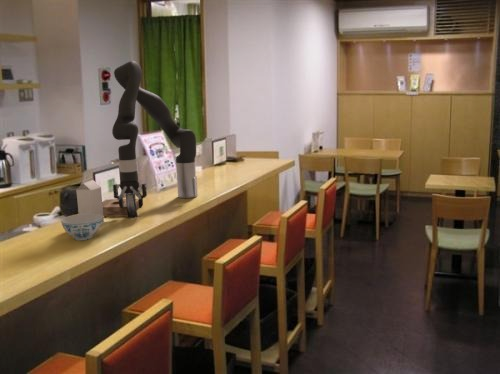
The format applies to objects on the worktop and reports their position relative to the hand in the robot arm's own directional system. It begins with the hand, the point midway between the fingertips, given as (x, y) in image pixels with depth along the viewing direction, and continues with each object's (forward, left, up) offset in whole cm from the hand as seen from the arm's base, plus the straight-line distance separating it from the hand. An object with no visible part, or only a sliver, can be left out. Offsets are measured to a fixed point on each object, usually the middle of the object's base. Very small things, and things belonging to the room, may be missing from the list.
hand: (131, 207), depth 250 cm
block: (+9, -10, -4) cm, 14 cm away
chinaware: (+10, +32, -4) cm, 34 cm away
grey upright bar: (0, 0, -4) cm, 4 cm away
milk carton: (+14, +11, -4) cm, 18 cm away
